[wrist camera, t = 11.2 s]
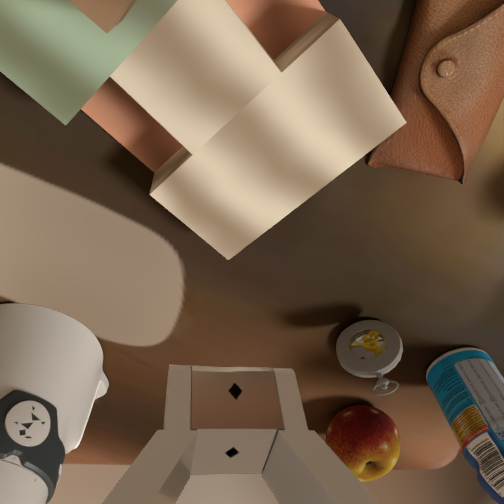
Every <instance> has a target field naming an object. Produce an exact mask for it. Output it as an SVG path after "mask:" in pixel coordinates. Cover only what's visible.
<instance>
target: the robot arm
mask: <svg viewBox="0 0 504 504" xmlns="http://www.w3.org/2000/svg"><path fill="white" fill-rule="evenodd" d="M102 364H103V352H102V348H101V346H100V343H99V342H98V340H97V338H96V337H95V336H94V335H93V333H92V332H91V331H90V330H89V329H88V328H86V327H85V326H84V325H83V324H81V323H80V322H78V321H77V320H75V319H73V318H72V317H70V316H68V315H66V314H64V313H61V312H59V311H56V310H53V309H50V308H46V307H41V306H37V305H31V304H19V303H10V304H0V504H47V503H48V502H49V501H50V500H51V498H52V496H53V494H54V491H55V488H56V486H57V484H58V482H59V480H60V476H61V473H62V465H63V461H64V458H65V454H67V453H69V452H70V451H71V450H73V449H75V448H77V446H78V445H79V443H80V441H81V438H82V436H83V433H84V430H85V427H86V424H87V421H88V418H89V415H90V412H91V409H92V406H93V403H94V400H95V399H97V398H99V397H101V396H103V395H104V394H105V393H106V392H107V389H108V386H109V382H108V380H107V378H106V376H105V374H104V373H103V370H102ZM207 474H262V477H263V479H264V480H265V482H266V483H267V485H268V487H269V488H270V490H271V491H272V493H273V494H274V496H275V497H276V499H277V501H278V502H279V504H380V503H379V502H378V501H377V500H376V499H375V498H374V497H373V495H372V494H371V493H370V492H369V491H368V490H367V489H366V487H365V486H364V485H363V484H362V483H361V482H360V481H359V480H358V479H357V477H356V476H355V475H354V474H353V473H352V472H351V471H350V470H349V469H348V467H347V466H346V465H345V464H344V463H343V462H342V461H341V460H340V459H339V457H338V456H337V455H336V454H335V453H334V452H333V451H332V450H331V448H330V447H329V446H328V445H327V444H326V443H325V442H324V441H323V440H322V438H321V437H320V436H319V435H318V434H317V433H316V432H315V431H314V430H308V427H307V423H306V418H305V414H304V410H303V405H302V401H301V397H300V393H299V388H298V384H297V380H296V376H295V372H294V371H293V369H287V368H265V367H232V368H227V367H209V366H191V365H169V371H168V382H167V393H166V404H165V415H164V428H163V430H157V431H156V433H155V434H154V435H153V437H152V438H151V439H150V441H149V442H148V443H147V445H146V446H145V447H144V449H143V450H142V451H141V453H140V454H139V455H138V457H137V458H136V459H135V461H134V462H133V463H132V465H131V466H130V467H129V468H128V470H127V471H126V472H125V474H124V475H123V477H122V478H121V479H120V480H119V482H118V483H117V484H116V486H115V487H114V488H113V490H112V491H111V492H110V494H109V495H108V496H107V498H106V499H105V500H104V502H103V503H102V504H175V503H176V501H177V500H178V498H179V496H180V494H181V492H182V491H183V489H184V487H185V485H186V484H187V482H188V480H189V478H190V475H207Z"/></svg>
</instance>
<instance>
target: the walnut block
mask: <svg viewBox="0 0 504 504" xmlns="http://www.w3.org/2000/svg"><path fill="white" fill-rule="evenodd" d="M69 1H70V2H71V3H72V4H73V5H74V6H76V7H77V8H78V9H79V10H80V11H81V12H82V13H84V14H85V15H86V16H87V17H88V18H89V19H91V20H92V21H93V22H94V23H95V24H96V25H98V26H99V27H100V28H101V29H102V30H103V31H105V32H106V33H108V32H109V31H111V30H112V29H113V28H114V27H115V26H116V25H118V24H119V23H120V22H121V21H122V20H123V19H124V18H125V17H126V15H127V14H128V12H129V11H130V9H131V8H132V6H133V5H134V3H135V2H136V0H69Z"/></svg>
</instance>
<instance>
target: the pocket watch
mask: <svg viewBox="0 0 504 504" xmlns="http://www.w3.org/2000/svg"><path fill="white" fill-rule="evenodd" d="M402 352H403V346H402V341H401V338H400V336H399V335H398V333H397V332H396V331H395V329H394V328H392V327H391V326H390V325H388V324H386V323H384V322H381V321H377V320H364V321H360V322H357V323H354V324H352V325H350V326H348V327H347V328H346V329H345V330H344V331H342V332H341V334H340V335H339V337H338V339H337V342H336V354H337V358H338V360H339V362H340V364H341V366H342V367H343V368H344V369H345V370H346V371H347V372H349V373H351V374H353V375H355V376H359V377H363V378H372V377H378V379H379V380H378V381H377V382H376V385H375V386H373V388H372V390H371V392H372V393H373V394H374V395H379V396H380V395H387V394H390V393H392V392H394V391H395V390H396V389H397V388H398V387H399V383H398V382H396V381H393V380H389V379H387V378H383V374H385V373H388V372H389V371H391V370H392V369H393V368H394V367H395V366H396V365H397V364H398V362H399V361H400V360H401V356H402ZM389 383H395V384H396V386H395V388H394V389H393V390H391V391H388V392H385V393H377V392H375V391H374V390H375V388H376V387H377V386H379V387H382V389H387V385H388V384H389Z"/></svg>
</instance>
